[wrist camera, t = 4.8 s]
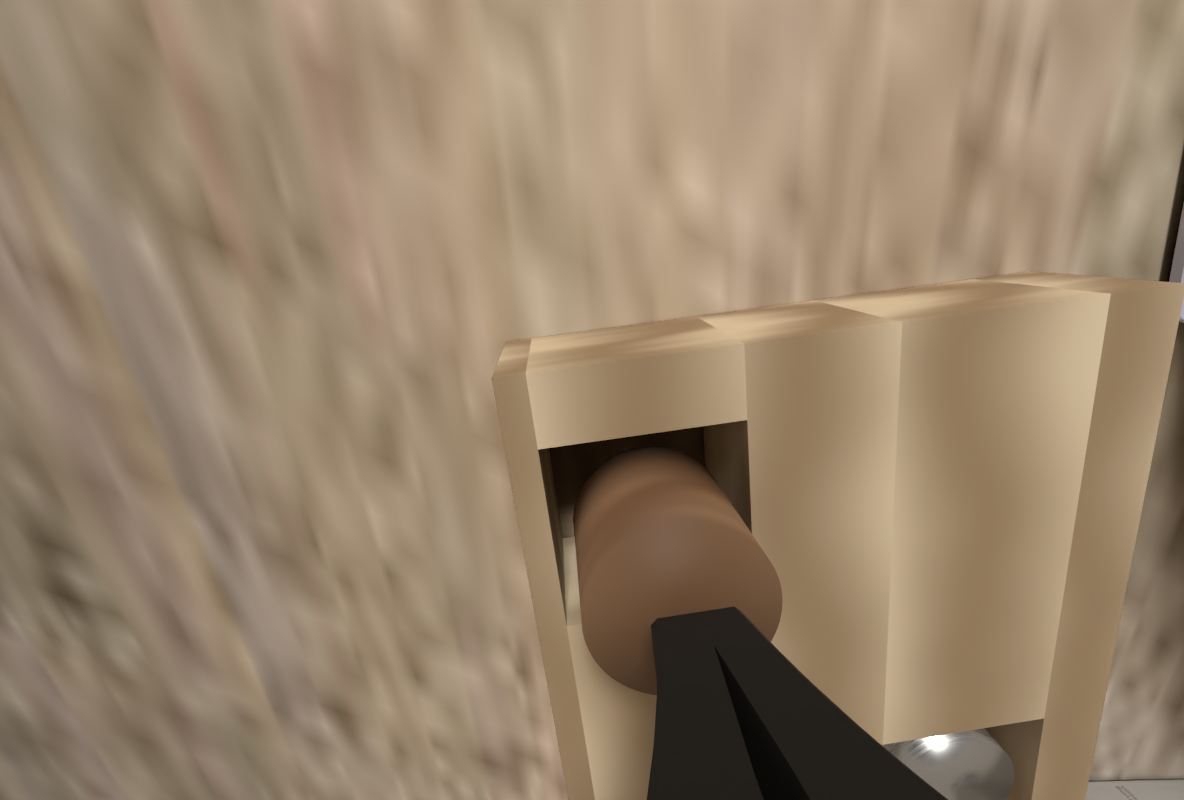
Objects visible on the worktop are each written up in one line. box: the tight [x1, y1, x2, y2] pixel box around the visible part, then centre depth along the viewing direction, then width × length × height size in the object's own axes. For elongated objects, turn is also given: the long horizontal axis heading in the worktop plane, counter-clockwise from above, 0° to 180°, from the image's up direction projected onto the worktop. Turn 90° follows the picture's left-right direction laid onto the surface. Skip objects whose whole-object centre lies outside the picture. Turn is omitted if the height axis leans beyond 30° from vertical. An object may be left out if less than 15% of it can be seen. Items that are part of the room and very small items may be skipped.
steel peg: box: [883, 728, 1015, 800], centre depth 18 cm, size 4×4×4 cm
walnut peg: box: [573, 447, 783, 695], centre depth 11 cm, size 4×4×4 cm
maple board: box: [492, 272, 1184, 800], centre depth 16 cm, size 15×18×4 cm
